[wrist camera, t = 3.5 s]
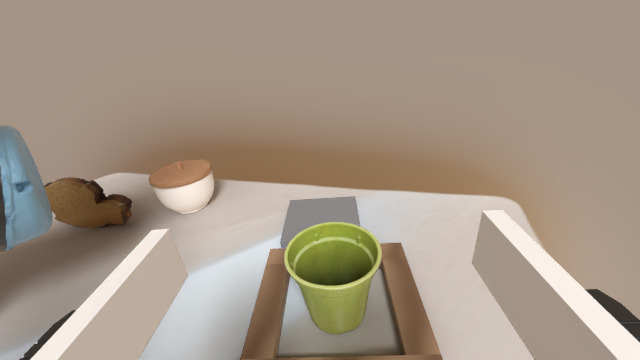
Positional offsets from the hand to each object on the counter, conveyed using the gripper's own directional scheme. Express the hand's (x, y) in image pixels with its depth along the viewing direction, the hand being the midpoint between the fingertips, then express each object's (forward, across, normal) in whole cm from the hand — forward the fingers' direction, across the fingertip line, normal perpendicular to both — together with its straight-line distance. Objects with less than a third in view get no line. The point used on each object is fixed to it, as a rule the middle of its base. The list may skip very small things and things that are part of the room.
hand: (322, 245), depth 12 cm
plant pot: (+12, 0, -19) cm, 23 cm away
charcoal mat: (+29, -2, -19) cm, 35 cm away
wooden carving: (+32, -44, -19) cm, 58 cm away
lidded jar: (+37, -28, -19) cm, 50 cm away
